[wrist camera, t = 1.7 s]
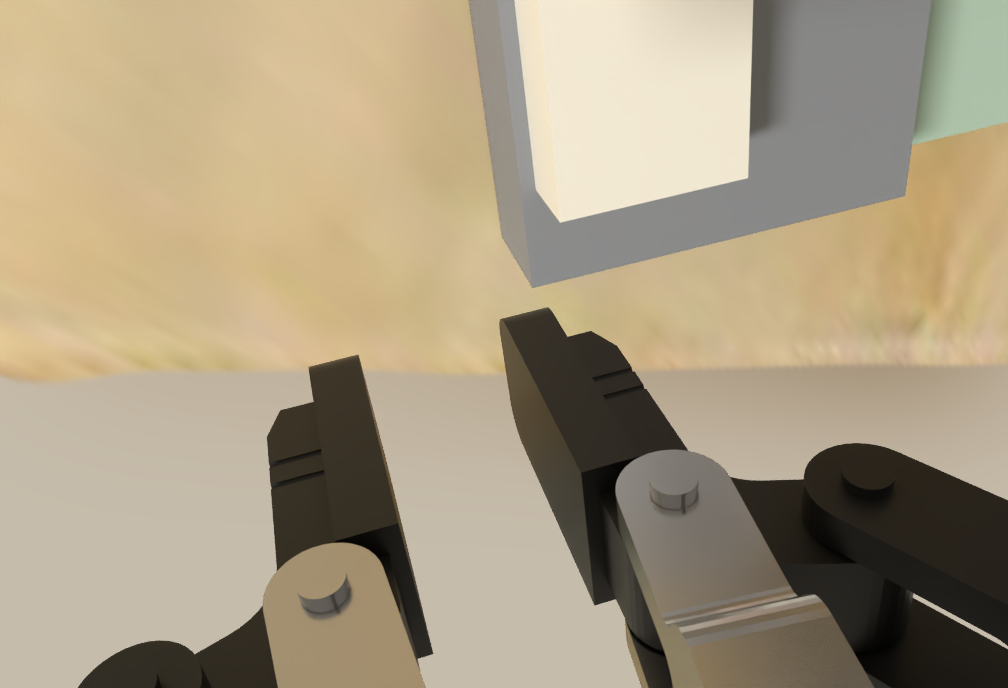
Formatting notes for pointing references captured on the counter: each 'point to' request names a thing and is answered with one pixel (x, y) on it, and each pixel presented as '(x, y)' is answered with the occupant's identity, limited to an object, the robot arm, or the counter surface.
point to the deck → (772, 137)
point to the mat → (963, 69)
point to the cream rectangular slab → (634, 98)
